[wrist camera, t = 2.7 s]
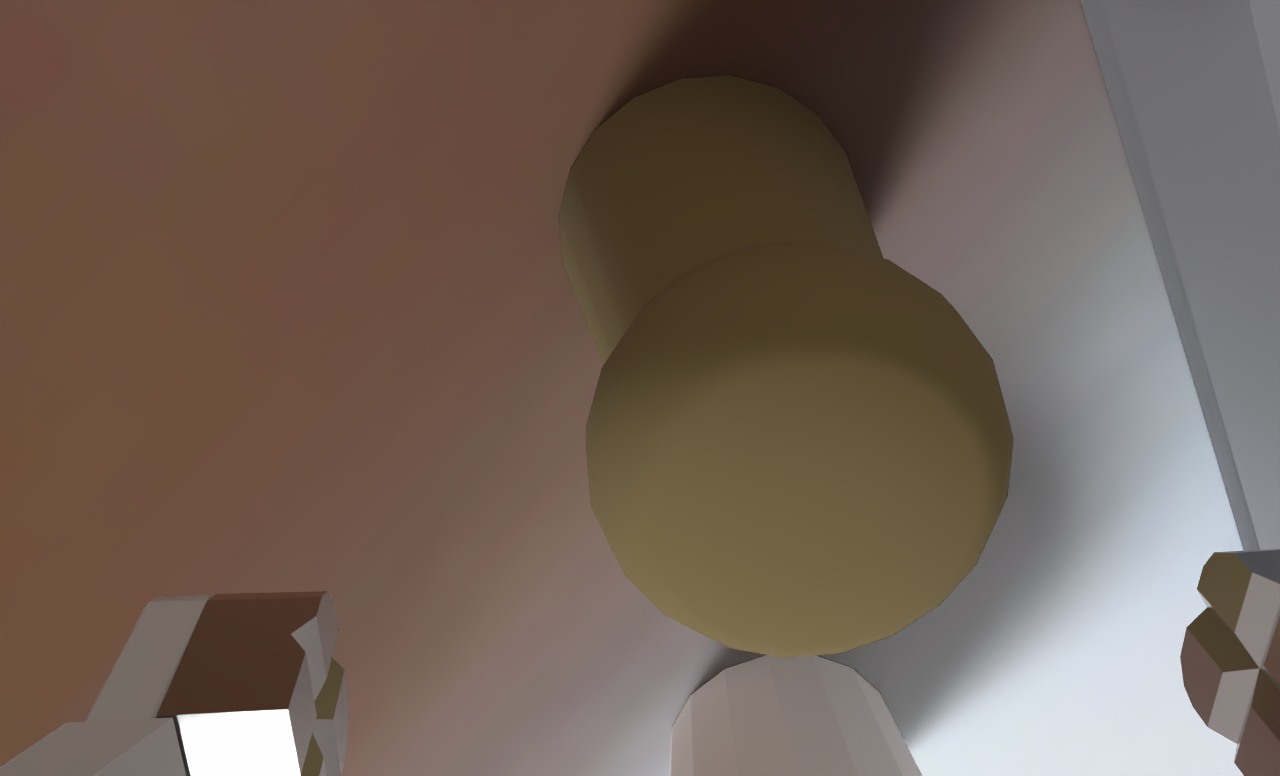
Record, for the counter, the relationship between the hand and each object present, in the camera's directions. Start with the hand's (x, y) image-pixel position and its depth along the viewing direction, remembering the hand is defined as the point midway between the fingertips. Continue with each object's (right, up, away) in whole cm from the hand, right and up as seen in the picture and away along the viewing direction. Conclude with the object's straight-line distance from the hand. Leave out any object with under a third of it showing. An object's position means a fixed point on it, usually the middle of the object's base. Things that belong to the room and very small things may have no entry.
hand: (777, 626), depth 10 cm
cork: (0, +6, +12) cm, 13 cm away
